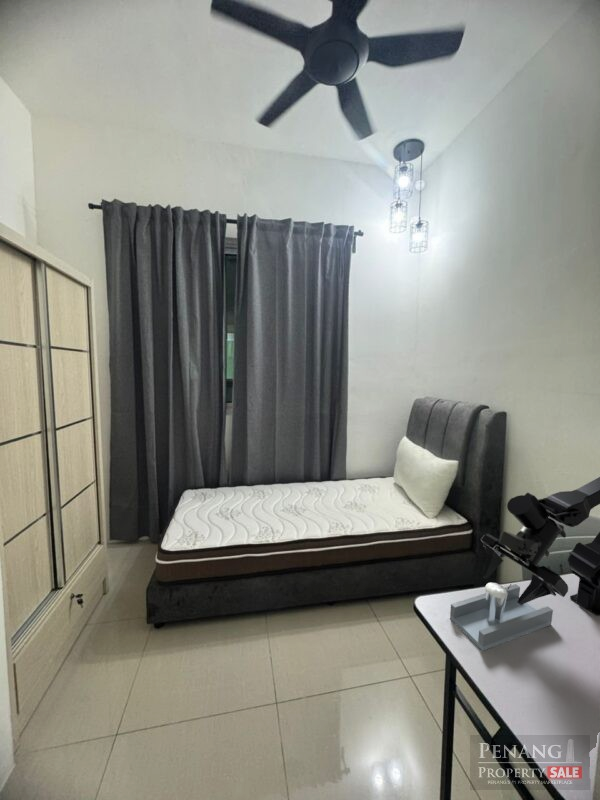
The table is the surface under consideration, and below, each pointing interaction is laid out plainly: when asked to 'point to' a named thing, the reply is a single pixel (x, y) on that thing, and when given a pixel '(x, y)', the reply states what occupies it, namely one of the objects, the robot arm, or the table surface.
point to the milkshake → (495, 602)
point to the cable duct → (514, 621)
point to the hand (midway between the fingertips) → (500, 590)
